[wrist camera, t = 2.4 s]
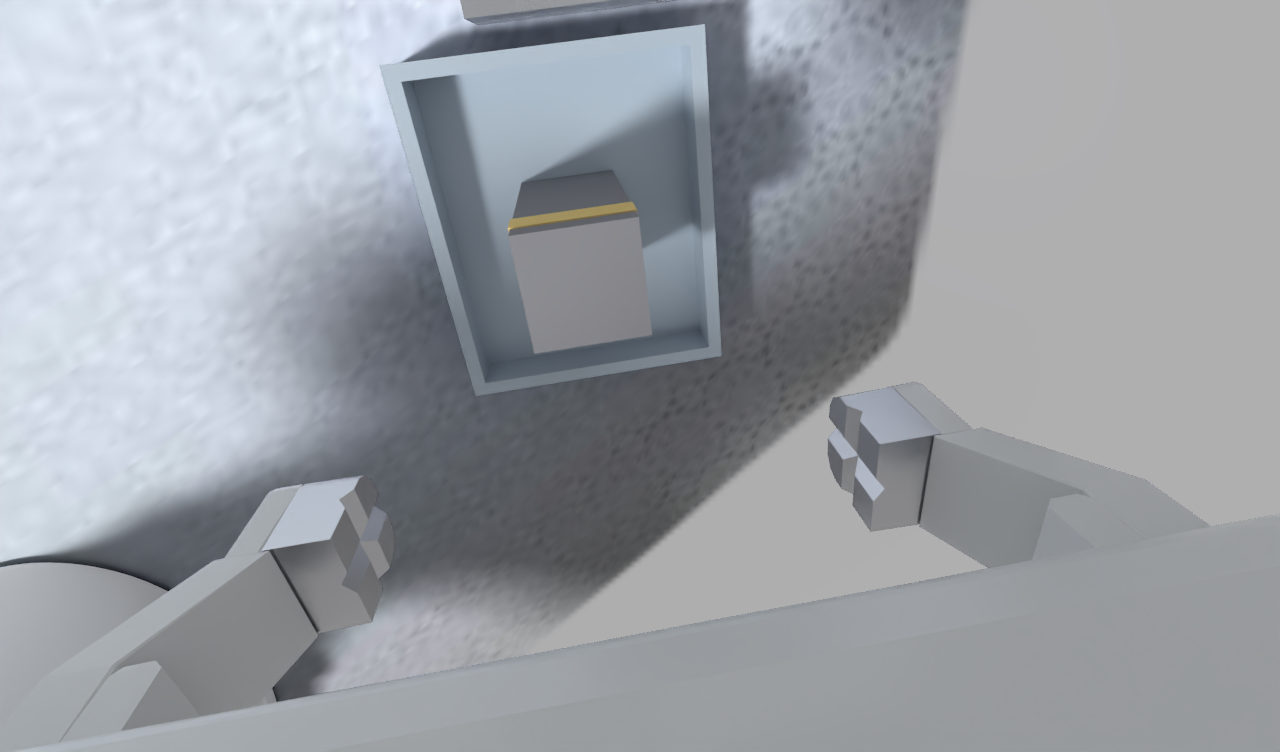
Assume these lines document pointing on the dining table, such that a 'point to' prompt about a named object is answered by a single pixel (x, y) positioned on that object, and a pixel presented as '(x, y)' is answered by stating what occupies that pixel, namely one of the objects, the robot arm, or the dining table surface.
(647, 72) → the tray
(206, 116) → the dining table surface
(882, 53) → the dining table surface
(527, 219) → the plug
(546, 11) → the double slot holder
